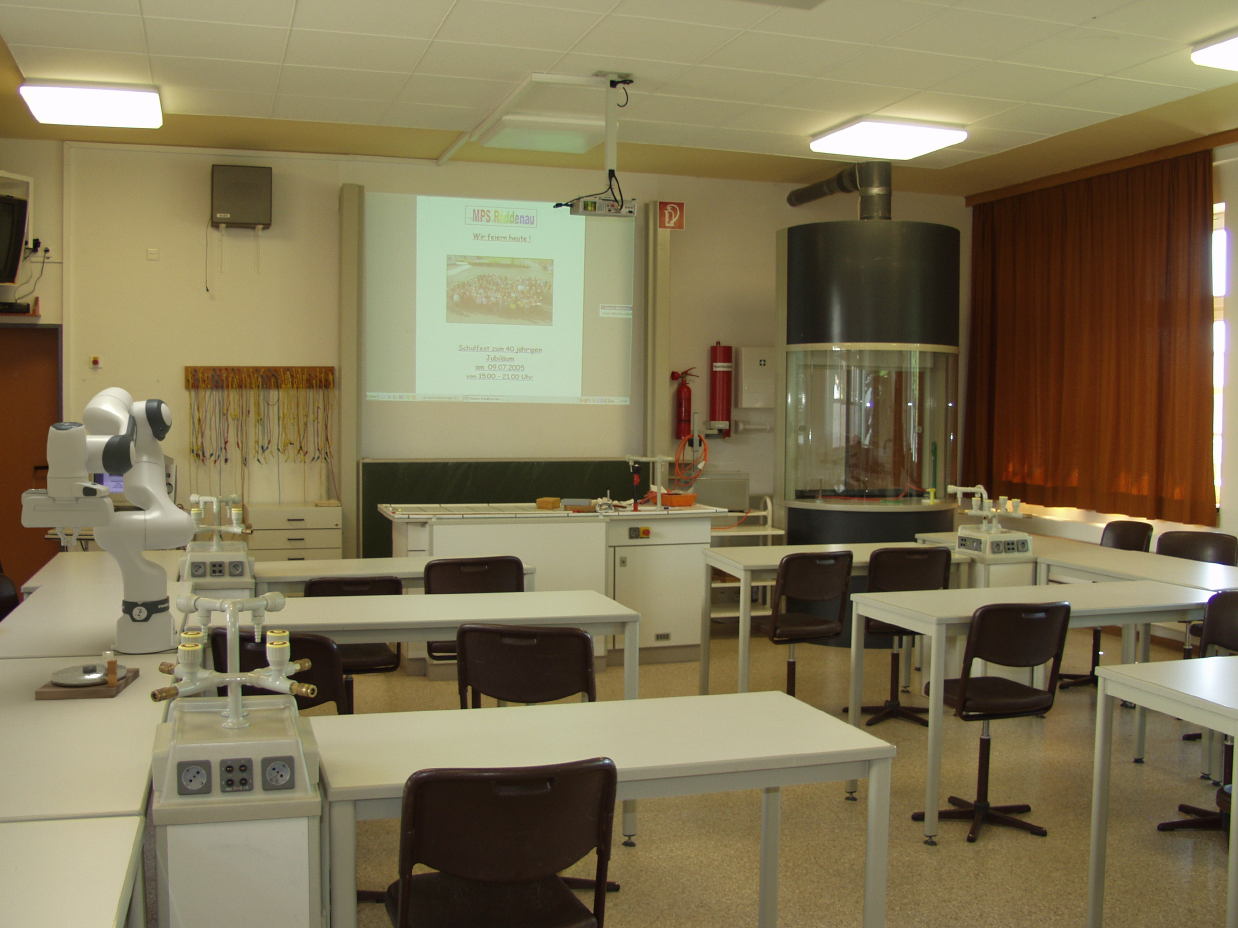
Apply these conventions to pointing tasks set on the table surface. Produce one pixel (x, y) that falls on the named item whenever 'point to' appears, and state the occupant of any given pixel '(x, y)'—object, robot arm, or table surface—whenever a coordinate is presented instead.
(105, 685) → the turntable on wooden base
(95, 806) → the table surface
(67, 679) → the dial
